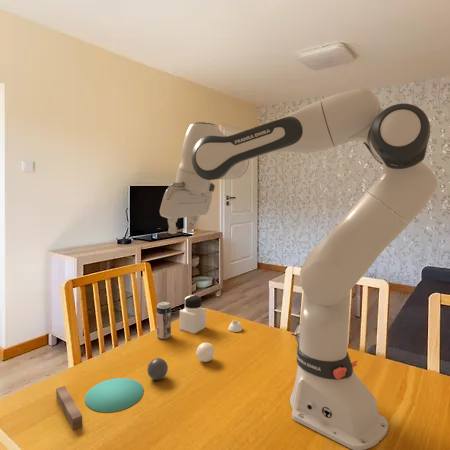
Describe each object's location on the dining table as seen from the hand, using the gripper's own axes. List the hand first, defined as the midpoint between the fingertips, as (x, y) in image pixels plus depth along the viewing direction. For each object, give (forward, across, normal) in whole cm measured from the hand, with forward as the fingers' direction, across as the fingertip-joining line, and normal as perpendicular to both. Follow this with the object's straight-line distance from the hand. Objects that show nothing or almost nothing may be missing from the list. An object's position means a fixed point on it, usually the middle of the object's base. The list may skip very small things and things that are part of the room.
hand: (181, 231), depth 98 cm
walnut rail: (+42, -29, +3) cm, 51 cm away
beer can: (+42, +14, +6) cm, 45 cm away
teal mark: (+41, -19, -2) cm, 45 cm away
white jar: (+38, +31, -13) cm, 51 cm away
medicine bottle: (+41, +25, +1) cm, 48 cm away
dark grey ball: (+37, -8, -6) cm, 38 cm away
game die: (+32, +30, -38) cm, 58 cm away
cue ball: (+35, +6, -13) cm, 38 cm away
